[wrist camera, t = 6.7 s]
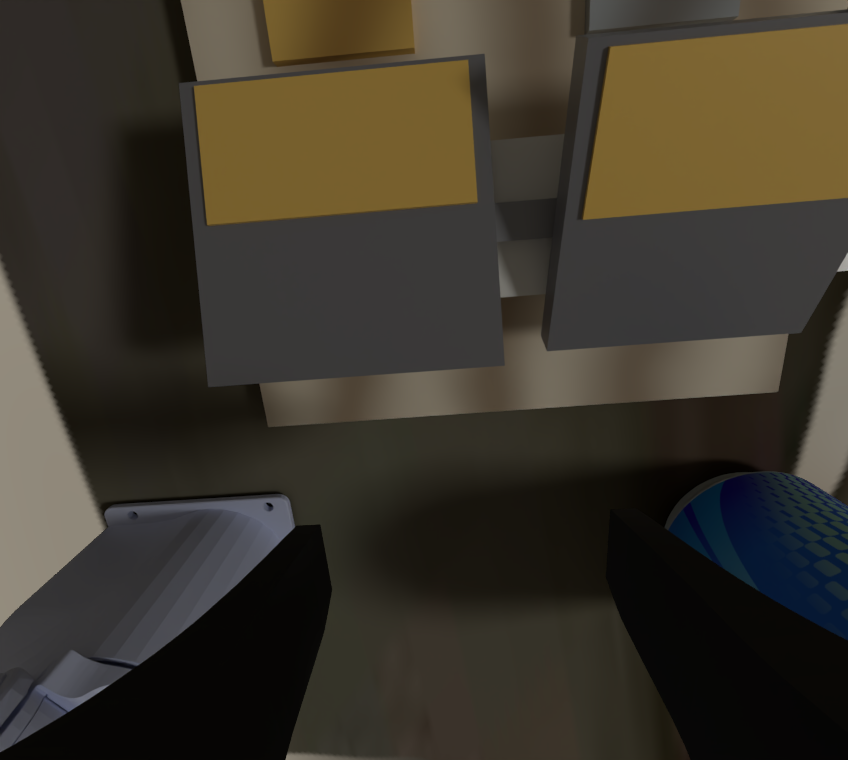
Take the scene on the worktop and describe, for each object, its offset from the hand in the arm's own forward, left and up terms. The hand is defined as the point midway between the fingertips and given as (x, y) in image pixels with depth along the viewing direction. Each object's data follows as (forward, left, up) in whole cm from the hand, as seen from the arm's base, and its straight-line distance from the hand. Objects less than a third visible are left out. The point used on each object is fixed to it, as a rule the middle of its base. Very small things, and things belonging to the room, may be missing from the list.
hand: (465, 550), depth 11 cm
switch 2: (+8, +8, -6) cm, 13 cm away
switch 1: (-3, +8, -6) cm, 10 cm away
